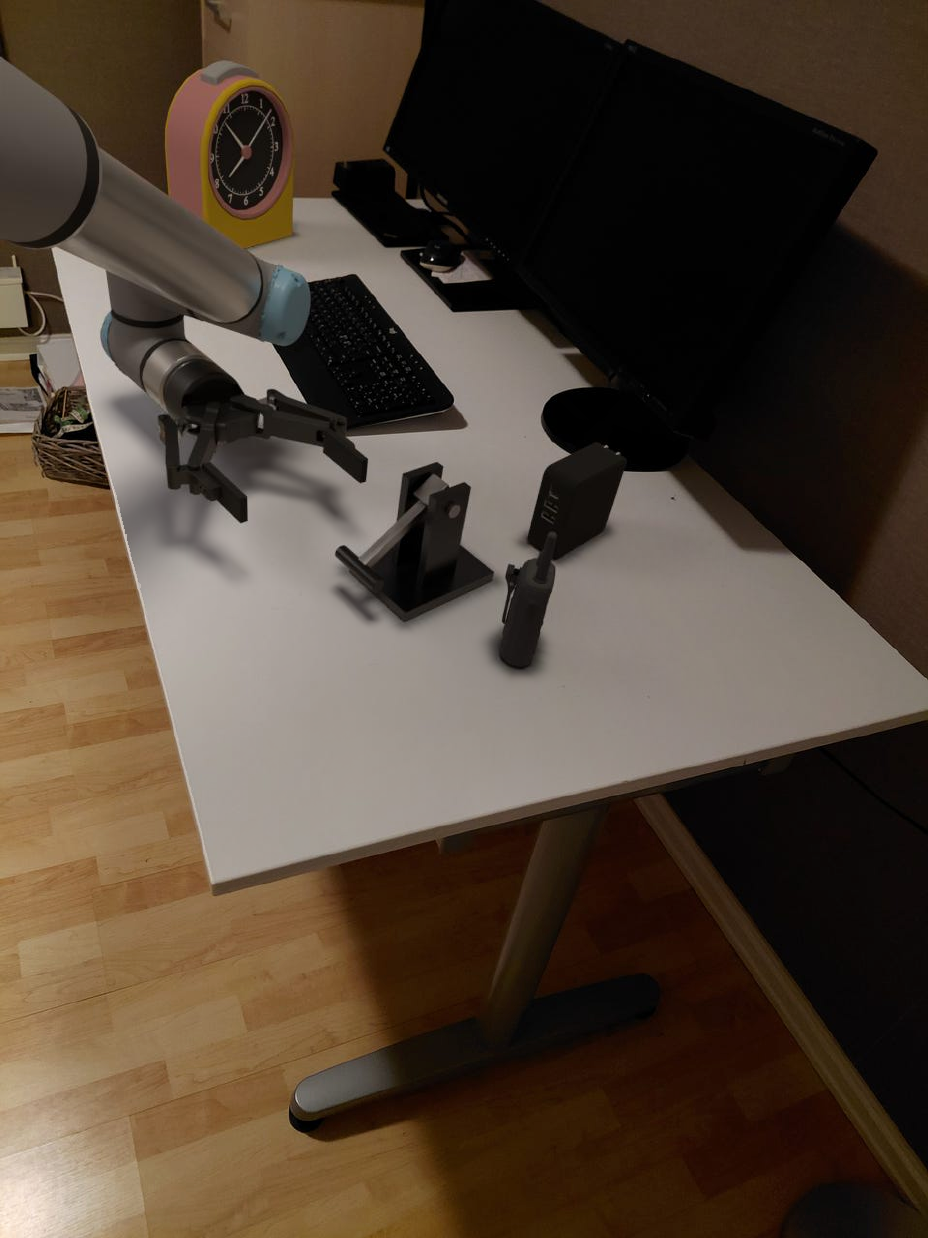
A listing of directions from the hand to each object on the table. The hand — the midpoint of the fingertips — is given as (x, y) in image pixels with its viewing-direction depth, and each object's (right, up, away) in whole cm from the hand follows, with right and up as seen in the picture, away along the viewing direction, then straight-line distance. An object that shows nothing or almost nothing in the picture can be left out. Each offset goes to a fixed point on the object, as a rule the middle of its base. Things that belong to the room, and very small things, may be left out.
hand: (307, 490), depth 81 cm
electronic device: (+27, -3, +16) cm, 31 cm away
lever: (+9, -4, +1) cm, 10 cm away
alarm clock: (-26, +55, +68) cm, 91 cm away
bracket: (+11, -8, +7) cm, 15 cm away
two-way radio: (+20, -15, +1) cm, 25 cm away
